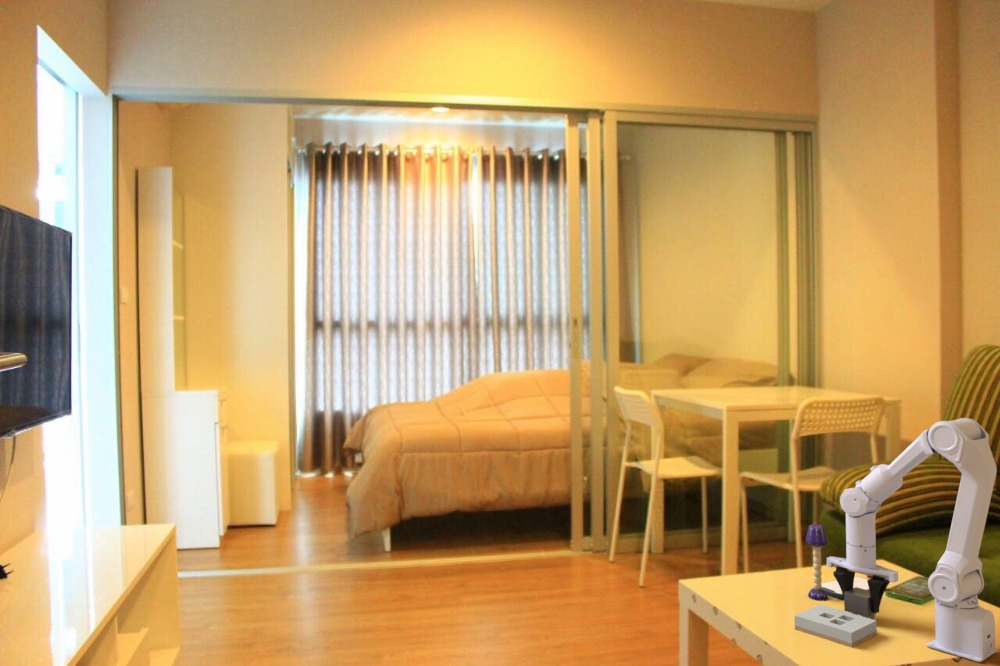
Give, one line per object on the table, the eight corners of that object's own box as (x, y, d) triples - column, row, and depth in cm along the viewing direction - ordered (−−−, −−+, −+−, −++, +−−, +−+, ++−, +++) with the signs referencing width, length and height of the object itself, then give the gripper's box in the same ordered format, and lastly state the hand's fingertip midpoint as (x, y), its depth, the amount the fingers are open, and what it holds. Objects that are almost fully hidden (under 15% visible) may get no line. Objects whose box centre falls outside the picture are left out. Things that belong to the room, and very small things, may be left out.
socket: (876, 634, 152) (876, 620, 152) (851, 647, 146) (851, 632, 146) (820, 617, 162) (820, 604, 162) (794, 628, 156) (794, 615, 156)
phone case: (856, 582, 187) (810, 591, 180) (856, 575, 187) (810, 584, 180) (889, 592, 179) (842, 602, 172) (889, 585, 179) (842, 595, 172)
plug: (879, 619, 160) (879, 593, 160) (867, 625, 157) (867, 598, 157) (856, 612, 164) (856, 587, 164) (844, 618, 161) (844, 592, 161)
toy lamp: (830, 601, 171) (829, 528, 171) (808, 600, 172) (807, 527, 172) (825, 594, 176) (824, 523, 176) (804, 593, 177) (803, 522, 177)
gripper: (904, 547, 157) (905, 612, 157) (837, 533, 169) (838, 594, 169) (888, 553, 153) (889, 620, 153) (821, 539, 165) (822, 601, 164)
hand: (861, 607), depth 161 cm, fingers closed on plug, 5 cm apart
